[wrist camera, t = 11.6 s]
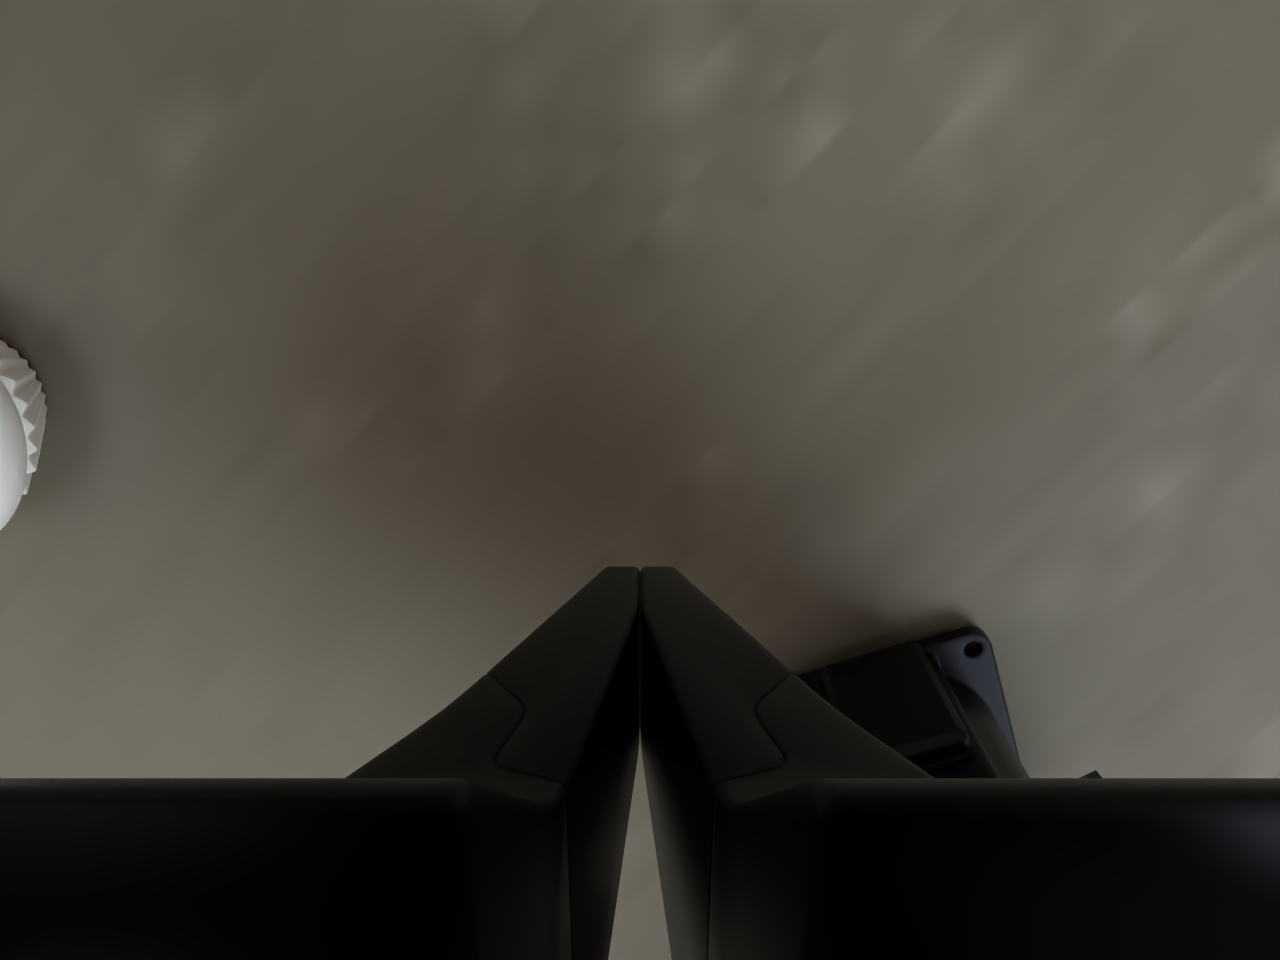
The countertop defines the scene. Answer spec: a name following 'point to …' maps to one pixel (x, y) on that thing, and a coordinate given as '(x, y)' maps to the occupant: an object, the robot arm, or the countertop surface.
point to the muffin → (18, 428)
